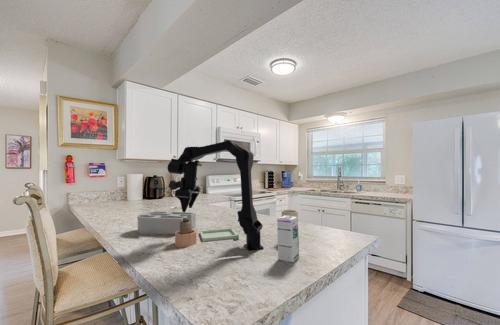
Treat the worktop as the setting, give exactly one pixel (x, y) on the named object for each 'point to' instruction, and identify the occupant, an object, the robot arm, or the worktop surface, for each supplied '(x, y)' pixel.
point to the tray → (218, 234)
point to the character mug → (290, 213)
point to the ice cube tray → (163, 222)
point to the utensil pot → (185, 239)
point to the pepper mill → (185, 226)
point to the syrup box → (288, 238)
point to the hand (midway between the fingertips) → (187, 210)
